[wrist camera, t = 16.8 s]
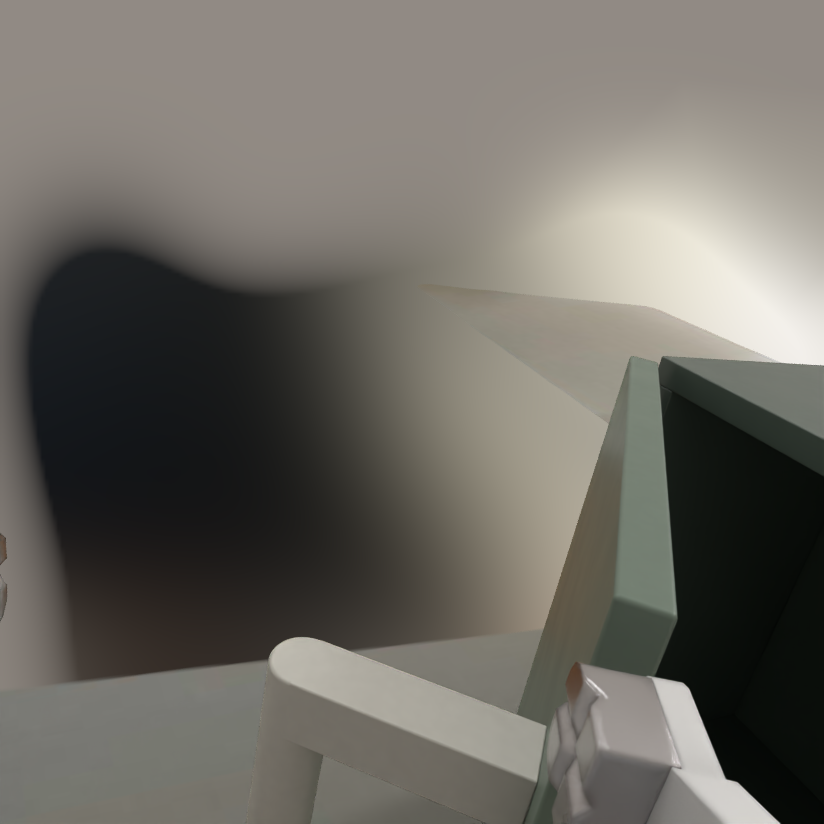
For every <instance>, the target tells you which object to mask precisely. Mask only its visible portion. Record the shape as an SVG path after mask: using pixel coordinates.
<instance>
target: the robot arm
mask: <svg viewBox="0 0 824 824" xmlns="http://www.w3.org/2000/svg"><path fill="white" fill-rule="evenodd" d="M6 558H7V554H6V538H5V537H4V536H3V535H1V534H0V565H1V564H2V563H3V562H4V561H5V559H6ZM6 602H7V584H6V583H5V582H4V580H3V578H2V577H1V575H0V621H1V619H2V617H3V614H4V610H5V606H6ZM565 686H566V693H567V699H568V701H567V702H565V703H564V704H562V705H561V706H559V707H558V708H556V711H555V714H554V717H553V720H552V723H551V726H550V731H549V738H548V744H547V772H548V780H549V782H550V783H551V784H552V786H553V787H554V788H555V789H556V791H557V792H558V793H557V796H556V799H555V802H554V804H553V807H552V817H553V824H780V823H779V822H778V821H777V820H776V819H775V818H774V817H773V816H772V815H771V814H770V813H769V812H768V811H767V810H766V809H765V808H764V807H763V806H761V805H760V804H759V803H758V802H757V801H756V800H755V799H754V798H753V797H752V796H751V795H750V794H749V793H748V792H747V791H746V790H745V789H744V788H743V787H742V786H741V785H740V784H739V783H738V782H734V781H730V780H726V779H725V776H724V774H723V771H722V769H721V766H720V764H719V761H718V759H717V756H716V754H715V751H714V749H713V747H712V744H711V742H710V739H709V737H708V734H707V732H706V729H705V727H704V724H703V722H702V719H701V717H700V714H699V712H698V710H697V707H696V705H695V702H694V700H693V697H692V695H691V692H690V690H689V688H688V687H687V686H686V685H685V684H684V683H682V682H677V681H672V680H667V679H661V678H656V677H651V676H647V677H645V676H640V675H636V674H631V673H627V672H622V671H618V670H613V669H608V668H604V667H599V666H595V665H590V664H586V663H581V662H577V661H576V662H575V663H574V665H573V666H572V668H571V669H570V672H569V675H568V677H567V680H566V683H565Z"/></svg>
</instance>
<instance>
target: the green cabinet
mask: <svg viewBox="0 0 824 824" xmlns="http://www.w3.org/2000/svg"><path fill="white" fill-rule="evenodd" d="M658 372H659V385H660V398H661V411H662V424H663V436H664V449H665V462H666V475H667V488H668V501H669V514H670V527H671V540H672V553H673V566H674V579H675V592H676V605H677V618H678V620H677V622H676V625H675V627H674V630H673V632H672V635H671V637H670V639H669V642H668V644H667V647H666V649H665V652H664V654H663V657H662V659H661V662H660V664H659V667H658V669H657V672H656V674H655V677H656V678H661V679H667V680H672V681H677V682H682V683H684V684H685V685H686V686H687V687H688V688H689V690H690V692H691V695H692V697H693V700H694V702H695V705H696V707H697V710H698V712H699V714H700V717H701V719H702V722H703V724H704V727H705V729H706V732H707V734H708V737H709V739H710V742H711V744H712V747H713V749H714V751H715V754H716V756H717V759H718V761H719V764H720V766H721V769H722V771H723V774H724V776H725V779H726V780H730V781H734V782H738V783H739V784H740V785H741V786H742V787H743V788H744V789H745V790H746V791H747V792H748V793H749V794H750V795H751V796H752V797H753V798H754V799H755V800H756V801H757V802H758V803H759V804H760V805H761V806H763V807H764V808H765V809H766V810H767V811H768V812H769V813H770V814H771V815H772V816H773V817H774V818H775V819H776V820H777V821H778V822H779V823H780V824H824V366H821V365H820V366H819V365H803V364H802V365H801V364H786V363H770V362H754V361H737V360H720V359H703V358H686V357H669V356H663V357H662V359H661V362H660V365H659V368H658Z"/></svg>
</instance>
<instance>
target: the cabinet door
mask: <svg viewBox="0 0 824 824" xmlns="http://www.w3.org/2000/svg"><path fill="white" fill-rule="evenodd" d="M677 620H678V618H677V605H676V592H675V579H674V566H673V553H672V540H671V527H670V514H669V501H668V488H667V475H666V462H665V449H664V436H663V424H662V411H661V398H660V385H659V372H658V363H657V362H654V361H650V360H646V359H642V358H638V357H634V356H631V357H630V359H629V362H628V366H627V369H626V372H625V375H624V378H623V381H622V385H621V388H620V391H619V394H618V397H617V400H616V403H615V407H614V410H613V413H612V416H611V419H610V422H609V425H608V429H607V432H606V435H605V438H604V441H603V444H602V447H601V451H600V454H599V457H598V460H597V463H596V466H595V470H594V473H593V476H592V479H591V482H590V485H589V488H588V492H587V495H586V498H585V501H584V504H583V508H582V511H581V514H580V517H579V520H578V523H577V526H576V529H575V533H574V536H573V539H572V542H571V545H570V548H569V551H568V555H567V558H566V561H565V564H564V567H563V571H562V573H561V577H560V580H559V583H558V586H557V589H556V592H555V596H554V599H553V602H552V605H551V608H550V611H549V614H548V618H547V621H546V624H545V627H544V630H543V633H542V636H541V640H540V643H539V646H538V649H537V652H536V655H535V658H534V662H533V665H532V668H531V671H530V674H529V677H528V681H527V684H526V687H525V690H524V693H523V696H522V699H521V703H520V706H519V709H518V712H517V715H516V714H513V713H511V712H508V711H506V710H503V709H500V708H498V707H495V706H492V705H490V704H487V703H485V702H482V701H479V700H477V699H474V698H471V697H469V696H466V695H463V694H461V693H458V692H456V691H453V690H450V689H448V688H445V687H442V686H440V685H437V684H435V683H432V682H429V681H427V680H424V679H421V678H419V677H416V676H414V675H411V674H408V673H406V672H403V671H400V670H398V669H395V668H393V667H390V666H387V665H385V664H382V663H379V662H377V661H374V660H371V659H369V658H366V657H364V656H361V655H358V654H356V653H353V652H350V651H348V650H345V649H342V648H340V647H337V646H335V645H332V644H329V643H327V642H324V641H322V640H320V641H319V640H316V639H313V638H306V637H299V638H292V639H288V640H286V641H284V642H282V643H280V644H279V645H278V646H276V647H275V648H274V650H273V651H272V653H271V654H270V657H269V661H268V668H267V675H266V682H265V690H264V697H263V704H262V711H261V718H260V726H259V733H258V740H257V747H256V754H255V762H254V769H253V776H252V783H251V790H250V798H249V805H248V812H247V819H246V824H310V823H311V817H312V812H313V807H314V801H315V796H316V791H317V785H318V780H319V775H320V769H321V764H322V759H323V755H324V756H326V757H329V758H331V759H334V760H336V761H338V762H341V763H343V764H346V765H348V766H350V767H353V768H355V769H358V770H360V771H362V772H365V773H367V774H369V775H372V776H374V777H377V778H379V779H381V780H384V781H386V782H389V783H391V784H393V785H396V786H398V787H401V788H403V789H405V790H408V791H410V792H412V793H415V794H417V795H420V796H422V797H424V798H427V799H429V800H432V801H434V802H436V803H439V804H441V805H443V806H446V807H448V808H451V809H453V810H455V811H458V812H460V813H463V814H465V815H467V816H470V817H472V818H475V819H477V820H479V821H482V822H484V823H486V824H553V817H552V807H553V804H554V802H555V799H556V796H557V793H558V792H557V791H556V789H555V788H554V787H553V786H552V784H551V783H550V782H549V780H548V772H547V744H548V738H549V731H550V726H551V723H552V720H553V717H554V714H555V711H556V708H558V707H559V706H561V705H562V704H564V703H565V702H567V701H568V699H567V693H566V686H565V683H566V680H567V677H568V675H569V672H570V669H571V668H572V666H573V665H574V663H575V662H576V661H577V662H581V663H586V664H590V665H595V666H599V667H604V668H608V669H613V670H618V671H622V672H627V673H631V674H636V675H640V676H645V677H647V676H651V677H655V674H656V672H657V669H658V667H659V664H660V662H661V659H662V657H663V654H664V652H665V649H666V647H667V644H668V642H669V639H670V637H671V635H672V632H673V630H674V627H675V625H676V622H677Z"/></svg>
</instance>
